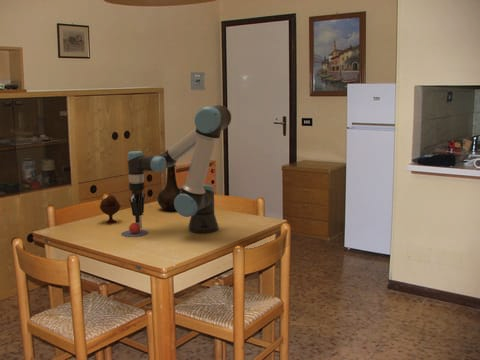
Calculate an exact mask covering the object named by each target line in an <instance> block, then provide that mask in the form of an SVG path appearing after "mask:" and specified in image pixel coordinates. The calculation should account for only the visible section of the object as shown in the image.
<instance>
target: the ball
mask: <svg viewBox="0 0 480 360" xmlns="http://www.w3.org/2000/svg"><path fill="white" fill-rule="evenodd" d="M140 230H141V229H140V226H139V224H137V223H136V222H132V223H130V224H129V226H128V231H130V232H131V233H132V234H137V233H138V232H139V231H140Z"/></svg>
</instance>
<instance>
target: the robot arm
mask: <svg viewBox="0 0 480 360" xmlns="http://www.w3.org/2000/svg"><path fill="white" fill-rule="evenodd" d="M193 120H194V125H195V128H194V129H192V130H191V131H190V132H188V133H186V135H184V136H183V137H182V138H180V140H178V141H177V142H175V143H174V144H173V145H171V146H170V147H169V148H168V149H166V150H165V151H164V152H162V153H159V154H155V155H144V153H143V151H140V150H132V151H129V152H127V167H128V168H127V169H128V176H127V177H128V182H129V183H128V188H129V189H128V190H129V191H131V197H129V200H128V201H129V203H130V209H131V213H132V216H133V217H135V223H137V224H139V226H140V230H142V228H143V220H142V216H144V211H145V198H146V193H143V191H144V190H145V172H153V173H154V172H155V173H161V172H164V171H165V170H166V169H167V167H171V166H173V165H176V164H177V162H179V160H180V159H182V158H183V157H184V156H186V155H187V154H188V153H190V152H191V151H193V153H192V157H191V161H190V165H189V169H188V173H187V177H186V180H185V183H184V184H182V185H181V188H180V189H181V191H180V194H179V195H177V197H176V198H175V200H174V206H175V209H176V212H177V214H179V215H180V216H182V217H184V218H185V217H186V218H188V217H189V218H190V219H189V222H188V231H189V232H190V233H196V234H197V233H198V234H206V233H207V234H208V233H214V232H216V231H218V230H219V223H218V220H217V218H216V214H215V188H214V186H213V185H212V184H211V185H210V184H205V182H206V178H207V174H208V171H209V168H210V167H209V166H210V164H211V163H210V162H211V160H212V159H211V158H212V155H213V150H214V148H215V143H216V141H217V140H218V139H220V137H221V134H222V131H223V130H225V129H227V128H228V127H229V126H230V125H231V122H232V114H231V110H229V109H228V108H227V107H226V106H224V105H222V104H221V105H220V104H217V105H207V106H204V107H202V108H200V109H199V110H198V111H197V112H196V113H195V117H194V119H193Z"/></svg>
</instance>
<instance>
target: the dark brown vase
mask: <svg viewBox="0 0 480 360" xmlns="http://www.w3.org/2000/svg"><path fill="white" fill-rule="evenodd" d="M175 167H177V165H176V164H175V165H173V166H171V167H167V168H166V183H165V188H164V189H163V190H161V191H160V192H159V193H158V196H157V203H158V205H159V207H160V208H161V209H163V210H164V211H168V212H169V211H170V212H175V211H176V209H175V206H174V200H175V198H176V197H177V195H179V194H180V191H181V188H179V186H178V184H177V178H176V168H175ZM176 212H177V211H176Z"/></svg>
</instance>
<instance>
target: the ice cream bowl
mask: <svg viewBox="0 0 480 360" xmlns="http://www.w3.org/2000/svg"><path fill="white" fill-rule="evenodd" d="M121 206H122V205H121V204H120V201H118V200H117V198H116V197H115V195H111V194H110V195H108V196H107V197H105V198H103V199H102V200H101V202H100V205H99V209H100V211H101V212H102V213H103V214H105V215H107V216H108V220H106V221H105V223H106V224H115V223H117V221H116V219H113V215H115V214H116V213H118V212H119V211H120V209H121Z"/></svg>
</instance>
